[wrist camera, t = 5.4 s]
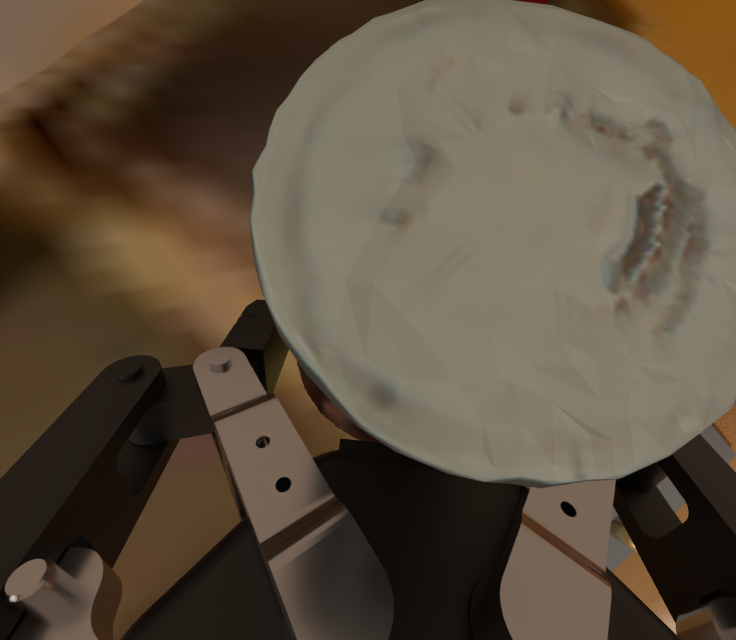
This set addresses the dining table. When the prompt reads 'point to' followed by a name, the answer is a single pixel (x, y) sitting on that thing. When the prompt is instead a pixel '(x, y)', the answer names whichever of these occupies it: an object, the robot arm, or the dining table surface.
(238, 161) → the dining table surface
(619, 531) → the brass pins
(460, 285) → the sauce bottle
